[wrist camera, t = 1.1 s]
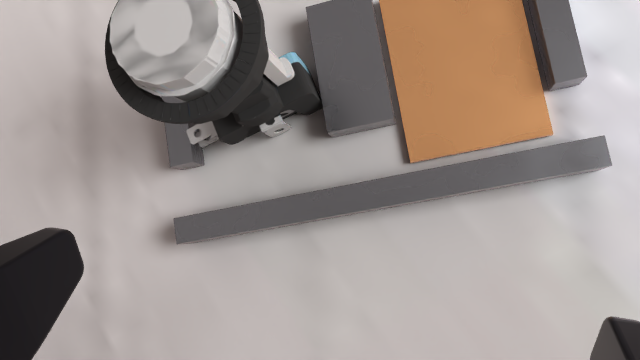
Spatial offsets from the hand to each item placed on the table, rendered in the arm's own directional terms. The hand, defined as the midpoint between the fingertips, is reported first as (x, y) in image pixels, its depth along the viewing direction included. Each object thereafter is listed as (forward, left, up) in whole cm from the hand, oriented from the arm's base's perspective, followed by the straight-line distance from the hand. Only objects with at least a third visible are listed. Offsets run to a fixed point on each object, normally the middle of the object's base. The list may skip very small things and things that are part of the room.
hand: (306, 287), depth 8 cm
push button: (-5, +8, -15) cm, 17 cm away
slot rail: (0, +8, -14) cm, 16 cm away
